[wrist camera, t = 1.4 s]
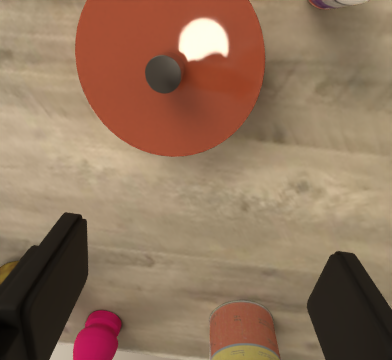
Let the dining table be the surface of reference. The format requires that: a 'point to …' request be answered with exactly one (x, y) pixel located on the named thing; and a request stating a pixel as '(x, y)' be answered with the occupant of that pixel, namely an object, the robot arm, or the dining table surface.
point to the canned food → (242, 332)
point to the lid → (170, 70)
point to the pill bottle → (335, 3)
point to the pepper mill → (98, 337)
